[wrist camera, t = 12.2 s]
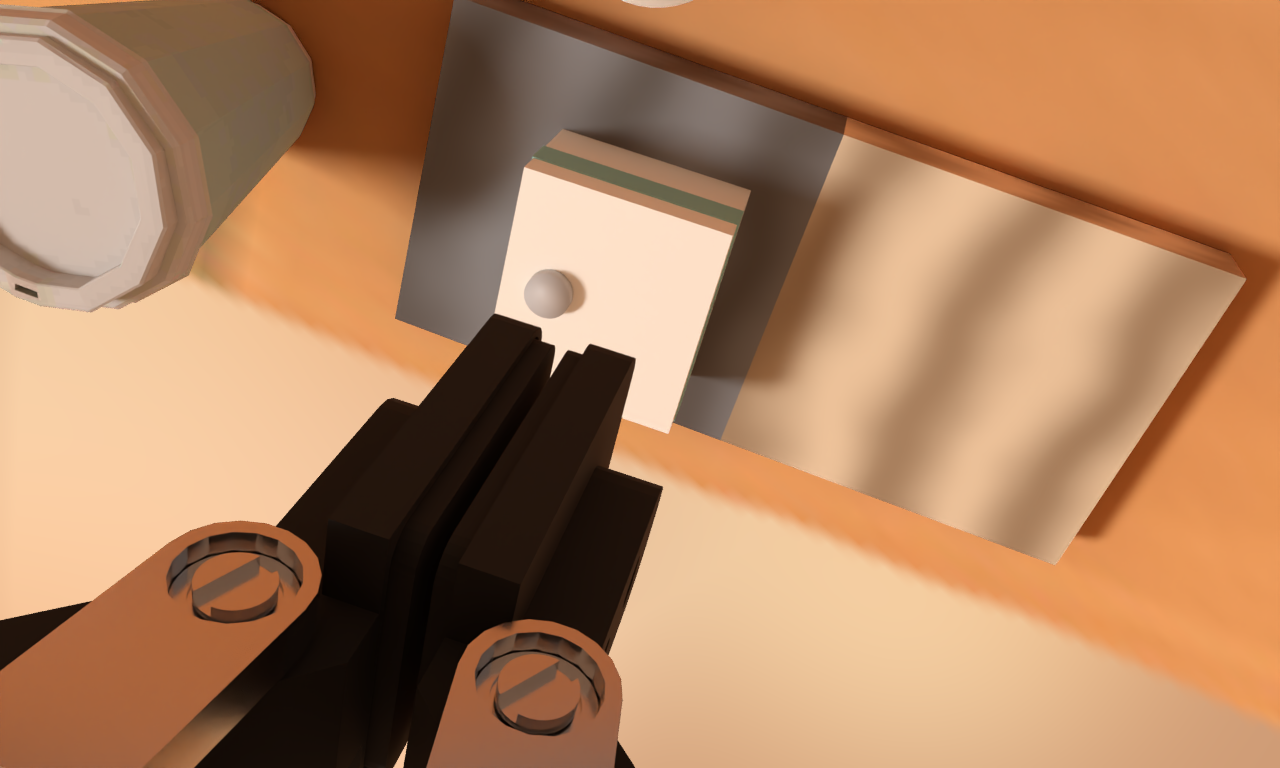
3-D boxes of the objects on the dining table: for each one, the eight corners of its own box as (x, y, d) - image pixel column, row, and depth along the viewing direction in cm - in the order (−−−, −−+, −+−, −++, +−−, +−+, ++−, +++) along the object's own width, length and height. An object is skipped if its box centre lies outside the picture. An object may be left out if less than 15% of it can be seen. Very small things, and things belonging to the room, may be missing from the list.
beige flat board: (1230, 254, 42) (1246, 279, 40) (1049, 532, 50) (1055, 565, 48) (477, -16, 44) (454, -5, 42) (416, 296, 52) (395, 318, 50)
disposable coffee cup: (154, -89, 45) (-144, -38, 33) (389, -3, 45) (180, 85, 32) (144, 142, 51) (-114, 264, 38) (353, 221, 50) (163, 371, 38)
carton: (752, 189, 43) (731, 241, 38) (691, 376, 48) (666, 442, 43) (561, 127, 43) (517, 170, 39) (520, 318, 48) (476, 377, 43)
